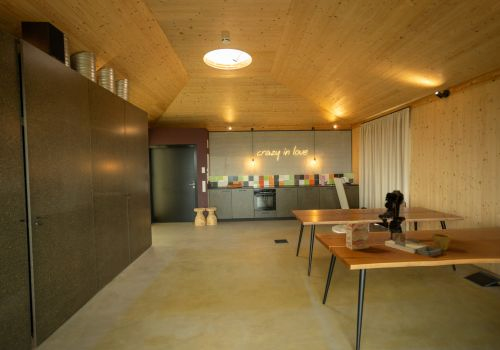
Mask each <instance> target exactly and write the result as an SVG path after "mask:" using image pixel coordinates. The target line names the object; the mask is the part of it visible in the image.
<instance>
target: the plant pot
mask: <svg viewBox="0 0 500 350" xmlns="http://www.w3.org/2000/svg"><path fill="white" fill-rule="evenodd" d="M432 239H433V242H434V245H435V248H439V249H442V251H446V250H448V248H449V245H450V242H451V240H452V238H451V236H450V235H448V234H443V233H433V234H432Z"/></svg>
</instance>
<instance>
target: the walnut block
mask: <svg viewBox="0 0 500 350" xmlns="http://www.w3.org/2000/svg"><path fill="white" fill-rule="evenodd" d="M392 239H393V241H394V242H395V241H400V242H405V240H406V234H405V233H403V232H402V233H392ZM392 239H391V240H392Z"/></svg>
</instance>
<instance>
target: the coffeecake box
mask: <svg viewBox="0 0 500 350" xmlns="http://www.w3.org/2000/svg"><path fill="white" fill-rule="evenodd" d="M345 225H346V227H345V228H346V229H345V231H346V234H345V236H346V237H345V238H346V243H345V244H346V245H345V246H346V247H345V248H347V249H349V250H351V251H353V250H361V249H362V250H363V249H369V248H370V243H369V242H370V238H369V237H370V234H369V233H370V232H369V230H370V228H369V227H370V226H369V225H370V223H369V222H368V221H365V220H356V221H354V220H352V221H346V223H345Z"/></svg>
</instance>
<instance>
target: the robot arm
mask: <svg viewBox="0 0 500 350" xmlns="http://www.w3.org/2000/svg"><path fill="white" fill-rule="evenodd" d="M404 201H405V195H404V193H402V192H401V190H398V189H394V190H393V191H392V192H387V193H386V195H385V203H384V207H385V209H386V210H385V212H384V213H383V212H382V214H378V217H377V218H379V219H380V220H381V221H382V223H383V225H384V228H387V225H388V219H391V220H390V222H389V225H388V231H389V232H390V237H389V240H393V239H392V233H402V234H403V228H402V226H401V224H402V223H403V222H405V221H406V220H407V219H406V216H400V212H401V206H402V205H403V204H404Z"/></svg>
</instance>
